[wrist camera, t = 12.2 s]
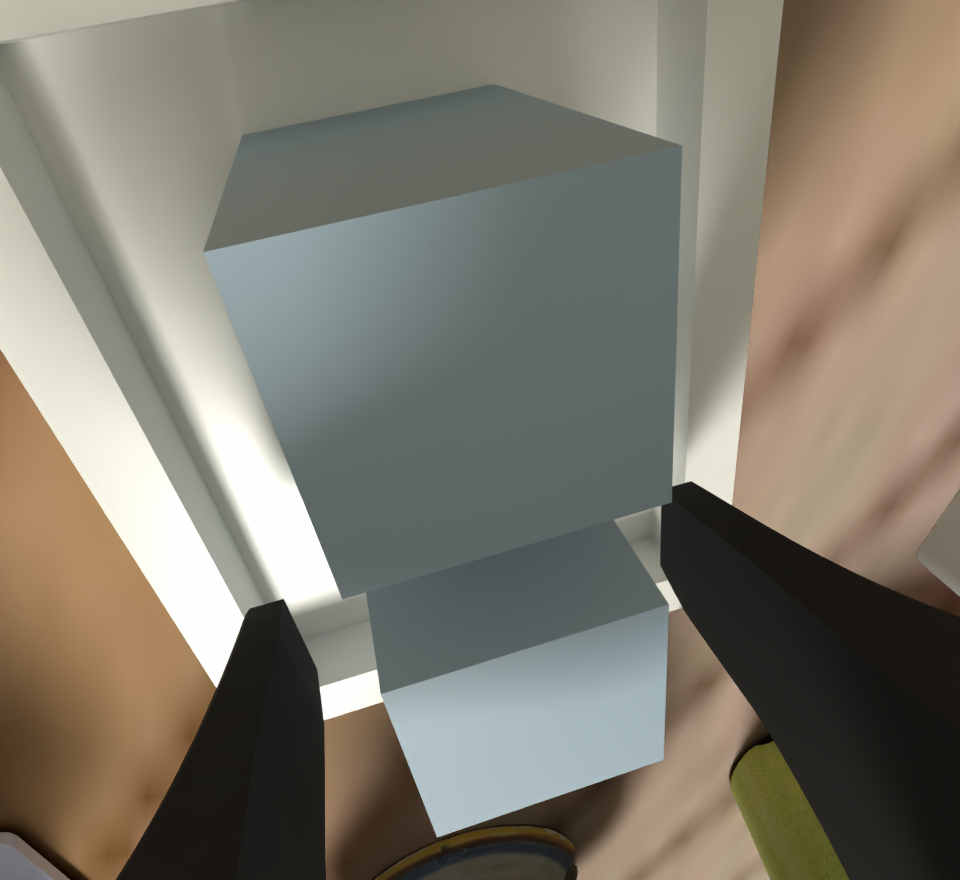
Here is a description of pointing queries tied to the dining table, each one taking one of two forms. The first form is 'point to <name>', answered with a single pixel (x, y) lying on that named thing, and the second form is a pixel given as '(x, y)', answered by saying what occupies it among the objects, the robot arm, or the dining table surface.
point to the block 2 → (524, 673)
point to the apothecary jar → (491, 857)
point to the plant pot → (782, 819)
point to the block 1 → (457, 322)
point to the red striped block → (944, 547)
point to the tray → (196, 300)
